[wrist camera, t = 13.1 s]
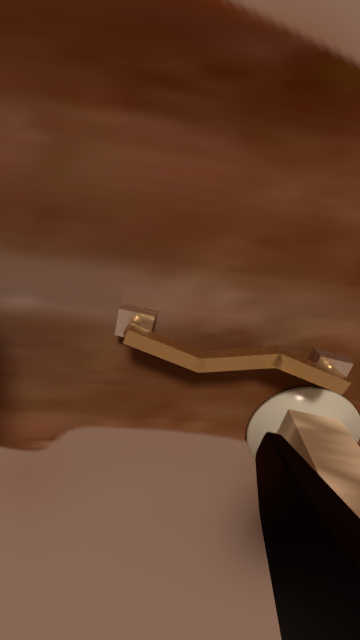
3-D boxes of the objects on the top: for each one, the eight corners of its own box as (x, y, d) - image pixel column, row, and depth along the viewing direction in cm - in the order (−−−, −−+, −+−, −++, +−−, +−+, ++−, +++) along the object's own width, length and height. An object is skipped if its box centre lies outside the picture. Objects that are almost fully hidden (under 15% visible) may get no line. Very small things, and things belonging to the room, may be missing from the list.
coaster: (232, 459, 25) (233, 463, 24) (268, 375, 21) (269, 378, 21) (329, 479, 25) (331, 484, 25) (379, 401, 22) (382, 404, 22)
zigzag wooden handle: (118, 332, 21) (106, 352, 18) (123, 297, 20) (112, 313, 17) (330, 381, 21) (351, 408, 19) (347, 351, 20) (371, 374, 18)
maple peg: (268, 449, 24) (335, 666, 13) (288, 408, 22) (386, 617, 11) (318, 460, 24) (426, 682, 13) (341, 420, 22) (489, 636, 11)
